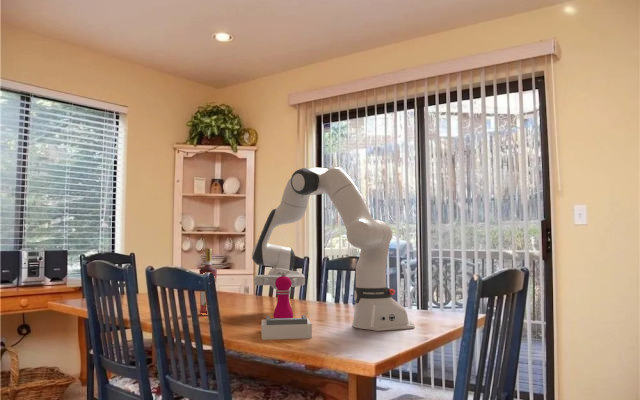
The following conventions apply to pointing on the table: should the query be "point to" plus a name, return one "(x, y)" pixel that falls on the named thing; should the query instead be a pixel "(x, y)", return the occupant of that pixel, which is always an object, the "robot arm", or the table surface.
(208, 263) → the liquor
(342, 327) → the table surface
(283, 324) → the dock
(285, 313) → the pepper mill
